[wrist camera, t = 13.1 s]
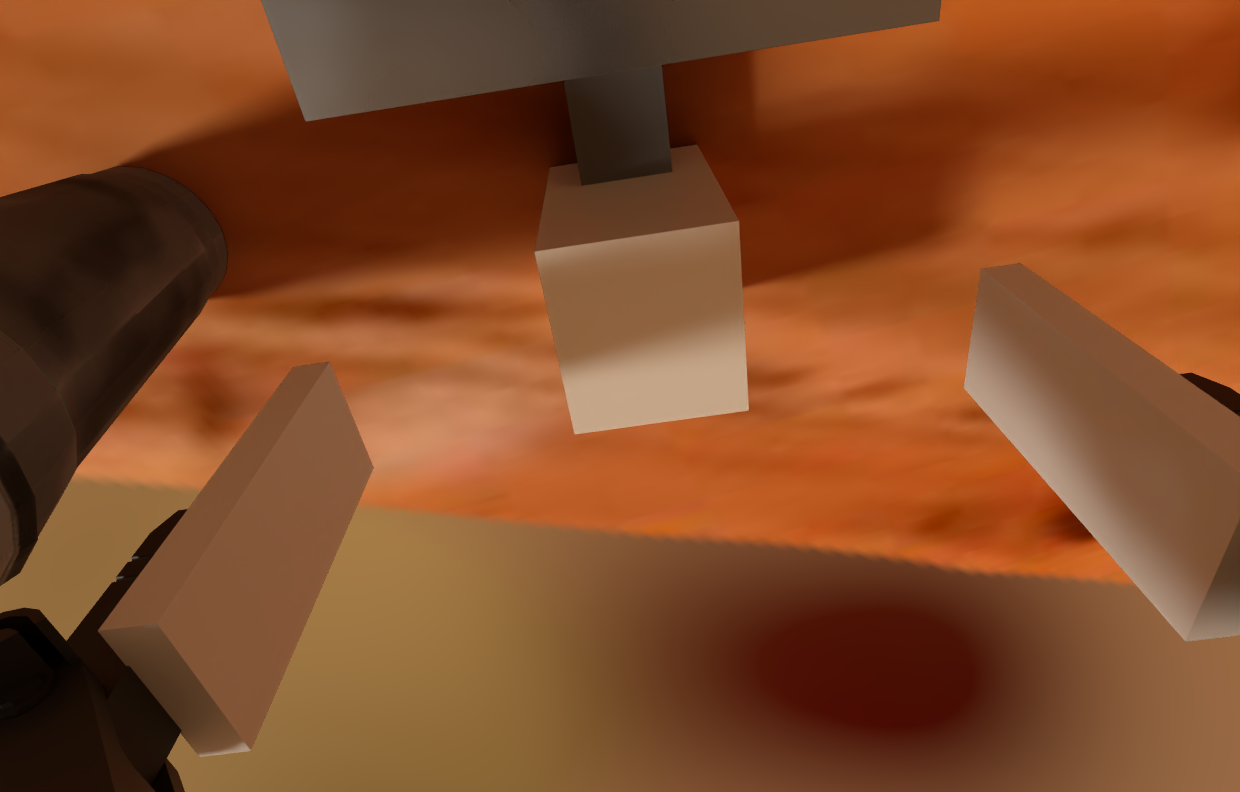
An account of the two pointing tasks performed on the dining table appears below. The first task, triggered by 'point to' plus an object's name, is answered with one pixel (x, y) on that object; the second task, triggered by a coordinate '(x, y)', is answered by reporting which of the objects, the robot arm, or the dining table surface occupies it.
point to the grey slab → (533, 41)
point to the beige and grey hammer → (640, 265)
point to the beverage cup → (87, 322)
